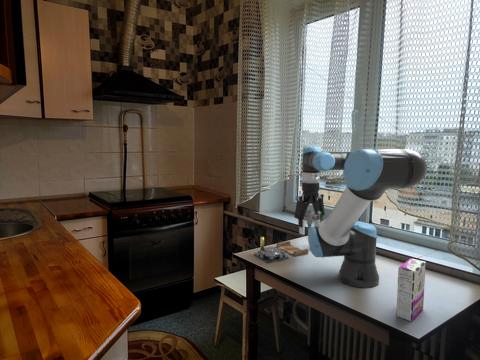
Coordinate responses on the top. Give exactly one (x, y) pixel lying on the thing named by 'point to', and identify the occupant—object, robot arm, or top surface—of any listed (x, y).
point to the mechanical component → (311, 217)
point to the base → (271, 259)
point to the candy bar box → (410, 289)
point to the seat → (291, 249)
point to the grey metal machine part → (270, 251)
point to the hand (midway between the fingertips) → (309, 232)
